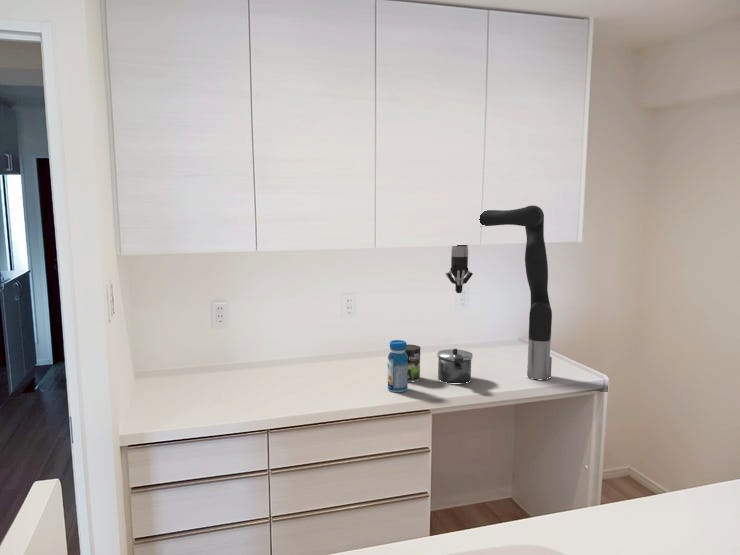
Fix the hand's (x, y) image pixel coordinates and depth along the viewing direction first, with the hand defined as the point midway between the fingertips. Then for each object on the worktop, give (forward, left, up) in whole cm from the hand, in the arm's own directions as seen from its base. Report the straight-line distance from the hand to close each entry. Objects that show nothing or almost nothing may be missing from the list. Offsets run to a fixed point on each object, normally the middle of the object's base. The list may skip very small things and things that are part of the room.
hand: (458, 292), depth 261 cm
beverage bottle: (+37, +25, -35) cm, 57 cm away
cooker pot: (+9, +20, -35) cm, 41 cm away
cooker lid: (+10, +20, -25) cm, 34 cm away
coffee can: (+28, +12, -35) cm, 47 cm away
